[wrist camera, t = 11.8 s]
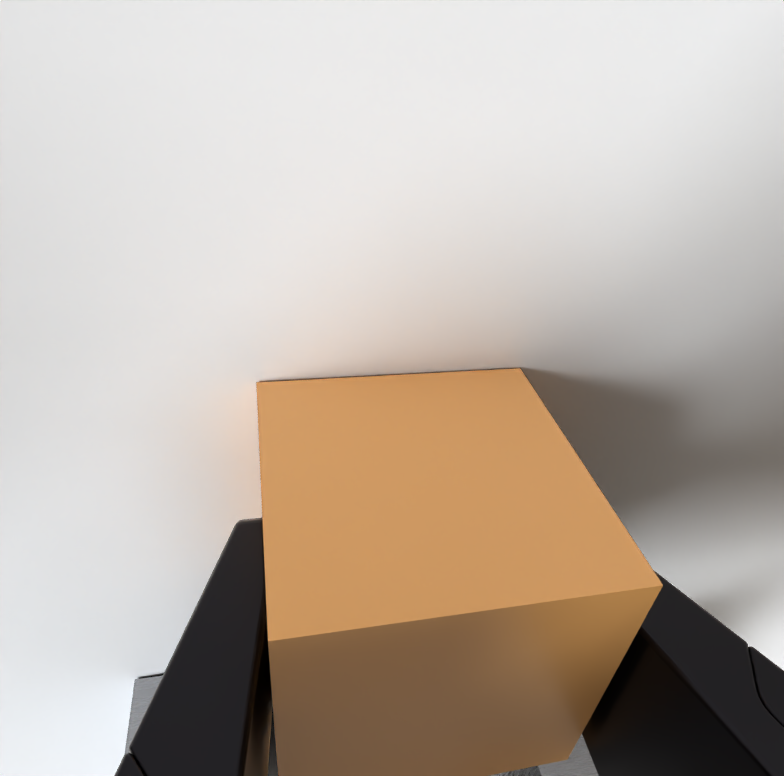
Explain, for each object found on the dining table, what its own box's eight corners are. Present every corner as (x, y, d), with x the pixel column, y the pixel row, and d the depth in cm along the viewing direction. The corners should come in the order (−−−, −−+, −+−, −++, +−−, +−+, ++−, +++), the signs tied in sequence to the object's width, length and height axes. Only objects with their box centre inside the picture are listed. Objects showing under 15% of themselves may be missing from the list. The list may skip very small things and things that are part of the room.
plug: (423, 767, 18) (463, 948, 14) (283, 794, 17) (294, 992, 14) (520, 368, 9) (662, 585, 6) (256, 382, 9) (267, 640, 5)
